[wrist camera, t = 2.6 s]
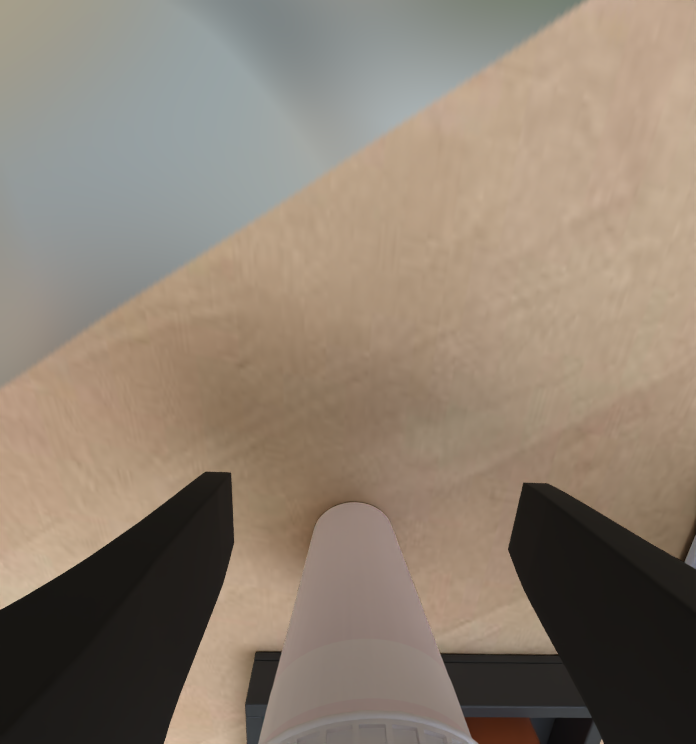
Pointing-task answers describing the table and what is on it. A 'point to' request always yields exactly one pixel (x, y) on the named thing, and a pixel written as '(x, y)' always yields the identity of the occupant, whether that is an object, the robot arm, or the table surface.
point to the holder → (477, 694)
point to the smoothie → (360, 646)
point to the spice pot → (502, 730)
